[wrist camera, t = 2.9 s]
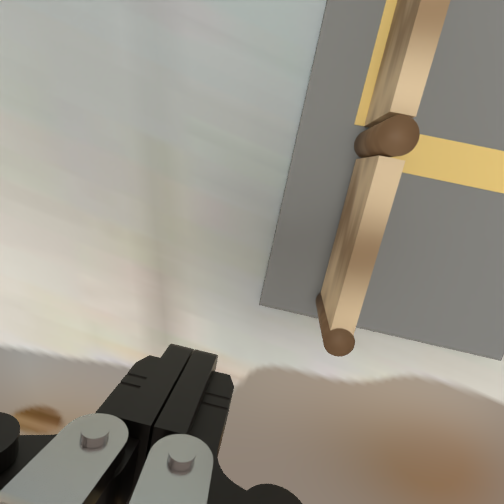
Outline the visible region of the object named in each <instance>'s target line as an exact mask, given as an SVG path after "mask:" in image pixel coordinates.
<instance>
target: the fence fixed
mask: <svg viewBox="0 0 504 504" xmlns="http://www.w3.org/2000/svg"><path fill="white" fill-rule="evenodd" d="M449 4H450V0H397V4H396V8H395V11H394V15H393V19H392V23H391V27H390V30H389V34H388V38H387V42H386V45H385V49H384V53H383V57H382V60H381V64H380V68H379V72H378V76H377V79H376V83H375V87H374V91H373V94H372V98H371V102H370V106H369V109H368V113H367V117H366V121H365V125H364V126H365V127H370V128H369V129H367V130H365V131H363V132H361V133H360V134H359V135H358V136H357V138H356V140H355V142H354V149H355V152H356V154H357V155H358V156H359V157H360V158H366V157H372V156H379V155H380V156H385V157H396V156H403V155H405V154H408V153H409V152H411V151H412V150H413V149H414V148H415V146H416V145H417V143H418V140H419V136H420V131H419V127H418V124H417V123H416V121H415V120H414V119H412V118H414V117H416V115H417V111H418V108H419V105H420V101H421V98H422V95H423V91H424V88H425V84H426V81H427V78H428V74H429V71H430V68H431V64H432V61H433V58H434V54H435V51H436V47H437V44H438V41H439V37H440V34H441V31H442V27H443V24H444V20H445V17H446V14H447V10H448V7H449Z"/></svg>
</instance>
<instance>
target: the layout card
mask: <svg viewBox="0 0 504 504" xmlns="http://www.w3.org/2000/svg"><path fill="white" fill-rule="evenodd" d="M396 4H397V0H327V4H326V8H325V13H324V17H323V22H322V26H321V31H320V35H319V39H318V44H317V48H316V53H315V57H314V62H313V66H312V71H311V75H310V80H309V84H308V89H307V93H306V98H305V102H304V106H303V111H302V115H301V120H300V124H299V129H298V133H297V138H296V142H295V147H294V151H293V156H292V160H291V164H290V169H289V173H288V178H287V182H286V187H285V191H284V196H283V200H282V205H281V209H280V214H279V218H278V222H277V227H276V231H275V236H274V240H273V245H272V249H271V254H270V258H269V263H268V267H267V272H266V276H265V280H264V285H263V289H262V294H261V298H260V303H259V305H262V306H267V307H271V308H275V309H280V310H284V311H288V312H293V313H297V314H301V315H306V316H310V317H314V318H318V313H317V307H316V297H317V296H318V294H319V293H321V289H322V286H323V282H324V278H325V274H326V271H327V267H328V263H329V259H330V256H331V252H332V248H333V244H334V240H335V237H336V233H337V229H338V225H339V222H340V218H341V214H342V210H343V207H344V203H345V199H346V195H347V192H348V188H349V184H350V180H351V177H352V173H353V169H354V165H355V162H356V159H360V157H359V156H358V155H357V154H356V152H355V149H354V142H355V140H356V138H357V136H358V135H359V134H360V133H361V132H363V131H365V130H367V129H369V128H370V127H365V126H364V125H365V121H366V117H367V113H368V109H369V106H370V102H371V98H372V94H373V91H374V87H375V83H376V79H377V76H378V72H379V68H380V64H381V60H382V57H383V53H384V49H385V45H386V42H387V38H388V34H389V30H390V27H391V23H392V19H393V15H394V11H395V8H396ZM412 119H414V120H415V121H416V123H417V124H418V127H419V131H420V136H419V140H418V143H417V145H416V146H415V148H414V149H413V150H412V151H411V152H409V153H408V154H405V155H403V156H396V157H390V158H394V159H399V160H404V161H405V164H404V167H403V171H402V174H401V177H400V181H399V184H398V187H397V191H396V194H395V198H394V201H393V204H392V208H391V211H390V214H389V218H388V221H387V224H386V228H385V231H384V234H383V238H382V241H381V244H380V248H379V251H378V255H377V258H376V261H375V265H374V268H373V271H372V275H371V278H370V281H369V285H368V288H367V291H366V295H365V298H364V301H363V305H362V308H361V312H360V315H359V318H358V322H357V325H356V327H357V328H362V329H366V330H370V331H375V332H379V333H383V334H388V335H392V336H396V337H401V338H405V339H409V340H414V341H418V342H422V343H427V344H431V345H435V346H439V347H444V348H448V349H452V350H457V351H461V352H465V353H470V354H474V355H478V356H483V357H487V358H491V359H496V360H500V361H501V360H502V357H503V355H504V0H450V4H449V7H448V10H447V14H446V17H445V20H444V24H443V27H442V31H441V34H440V37H439V41H438V44H437V47H436V51H435V54H434V58H433V61H432V64H431V68H430V71H429V74H428V78H427V81H426V84H425V88H424V91H423V95H422V98H421V101H420V105H419V108H418V111H417V115H416V117H414V118H412ZM318 319H319V318H318Z"/></svg>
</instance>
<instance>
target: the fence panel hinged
mask: <svg viewBox="0 0 504 504" xmlns="http://www.w3.org/2000/svg"><path fill="white" fill-rule="evenodd" d="M404 164H405V161H404V160H399V159H394V158H390V157H385V156H380V155H379V156H372V157H366V158H360V159H356V162H355V165H354V169H353V173H352V177H351V180H350V184H349V188H348V192H347V195H346V199H345V203H344V207H343V210H342V214H341V218H340V222H339V225H338V229H337V233H336V237H335V240H334V244H333V248H332V252H331V256H330V259H329V263H328V267H327V271H326V274H325V278H324V282H323V286H322V289H321V293H319V294H318V296H317V297H316V307H317V313H318V318H319V323H320V328H321V333H322V338H323V343H324V347H325V349H326V350H327V352H328V353H330V354H331V355H334V356H345V355H347V354H349V353H350V352H351V351H352V350H353V348H354V345H355V339H354V336H353V335H354V332H355V328H356V325H357V322H358V318H359V315H360V312H361V308H362V305H363V301H364V298H365V295H366V291H367V288H368V285H369V281H370V278H371V275H372V271H373V268H374V265H375V261H376V258H377V255H378V251H379V248H380V244H381V241H382V238H383V234H384V231H385V228H386V224H387V221H388V218H389V214H390V211H391V208H392V204H393V201H394V198H395V194H396V191H397V187H398V184H399V181H400V177H401V174H402V171H403V167H404Z"/></svg>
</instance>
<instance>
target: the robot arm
mask: <svg viewBox="0 0 504 504" xmlns="http://www.w3.org/2000/svg"><path fill="white" fill-rule="evenodd" d="M217 358H218V355H216V354H212V353H208V352H204V351H199V350H194V349H191V348H187V347H183V346H179V345H175V344H170V345H169V347H168V348H167V350H166V351H165V352H164V354H163V355H162V357H161V358H158V357H154V356H150V355H149V356H147V357H146V358H144V359H142V360H140V361H138V362H136V363H135V364H134V366H133V367H132V368H131V369H130V371H129V372H128V374H127V375H126V376H125V377H124V378H123V379H122V380H121V383H120V384H118V386H117V387H116V388H115V389H114V391H113V392H112V393H111V394H110V395H109V397H108V398H107V399H106V400H105V402H104V403H103V404H102V405H101V407H100V408H99V409H98V410H97V411H96V413H95V414H89V415H85V416H82V417H79V418H77V419H75V420H73V421H72V422H70V423H69V424H68V425H67V426H65V427H64V428H63V429H62V430H61V431H60V432H59V433H58V434H55V435H20V434H19V433H20V425H19V422H18V421H17V419H16V418H14V417H13V416H11V415H9V414H6V413H2V412H0V504H302V503H301V502H300V500H299V499H298V498H297V497H296V496H295V495H294V494H292V493H291V492H289V491H288V490H286V489H284V488H283V487H280V486H277V485H273V484H260V485H256V486H254V487H252V488H250V489H249V490H247V491H246V490H244V489H243V488H241V487H239V486H238V485H236V484H235V483H233V482H232V481H231V480H230V479H229V478H228V477H227V476H226V475H225V474H224V473H223V471H222V469H221V468H220V465H219V463H218V458H217V457H218V453H219V449H220V445H221V441H222V437H223V433H224V429H225V425H226V420H227V416H228V411H229V406H230V402H231V398H232V393H233V389H234V385H233V382H232V380H231V377H230V375H227V374H223V373H219V372H215V369H216V364H217Z"/></svg>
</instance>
